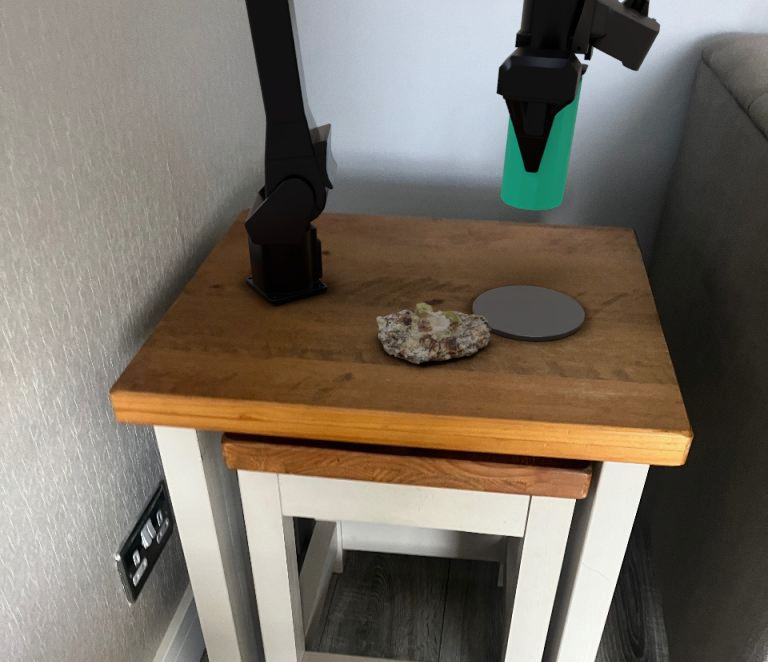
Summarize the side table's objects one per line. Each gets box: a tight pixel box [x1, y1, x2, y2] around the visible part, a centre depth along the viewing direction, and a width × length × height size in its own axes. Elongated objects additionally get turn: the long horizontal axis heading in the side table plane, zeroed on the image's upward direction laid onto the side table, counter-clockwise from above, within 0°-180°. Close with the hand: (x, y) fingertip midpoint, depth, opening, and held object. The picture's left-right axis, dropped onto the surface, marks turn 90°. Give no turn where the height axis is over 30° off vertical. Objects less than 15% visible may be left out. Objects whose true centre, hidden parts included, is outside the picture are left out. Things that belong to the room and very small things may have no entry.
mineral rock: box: [375, 302, 492, 365], centre depth 72 cm, size 11×4×8 cm
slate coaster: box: [471, 285, 586, 342], centre depth 77 cm, size 11×11×1 cm
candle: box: [499, 76, 584, 211], centre depth 71 cm, size 6×6×12 cm
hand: (536, 161), depth 73 cm, fingers closed on candle, 6 cm apart
